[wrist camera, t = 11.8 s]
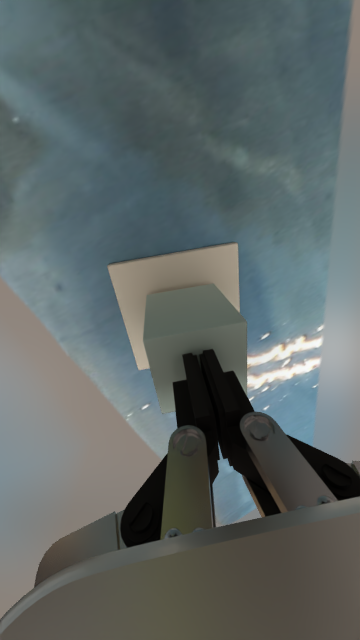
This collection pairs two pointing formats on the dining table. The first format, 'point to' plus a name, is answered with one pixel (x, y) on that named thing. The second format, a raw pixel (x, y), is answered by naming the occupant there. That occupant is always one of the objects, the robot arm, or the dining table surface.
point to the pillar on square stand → (171, 283)
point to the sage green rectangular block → (191, 336)
